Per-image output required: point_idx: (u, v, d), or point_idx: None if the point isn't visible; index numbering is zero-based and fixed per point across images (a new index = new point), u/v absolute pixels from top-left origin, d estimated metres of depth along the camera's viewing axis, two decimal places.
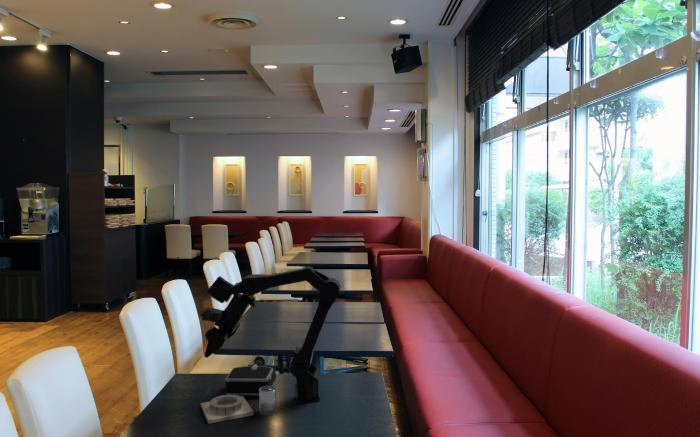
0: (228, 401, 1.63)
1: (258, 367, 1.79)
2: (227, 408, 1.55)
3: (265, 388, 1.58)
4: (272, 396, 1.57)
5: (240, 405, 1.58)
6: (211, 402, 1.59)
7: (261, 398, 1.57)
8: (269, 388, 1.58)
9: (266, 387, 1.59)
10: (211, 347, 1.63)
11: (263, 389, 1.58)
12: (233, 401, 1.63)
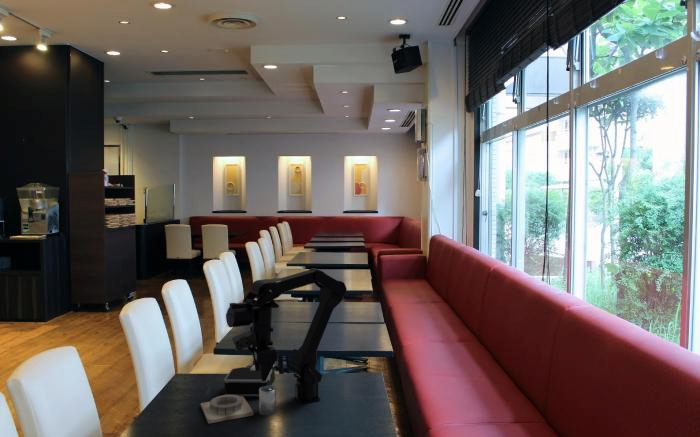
0: (228, 401, 1.63)
1: None
2: (227, 408, 1.55)
3: (265, 388, 1.58)
4: (272, 396, 1.57)
5: (240, 405, 1.58)
6: (211, 402, 1.59)
7: (261, 398, 1.57)
8: (269, 388, 1.58)
9: (266, 387, 1.59)
10: (265, 368, 1.53)
11: (263, 389, 1.58)
12: (233, 401, 1.63)
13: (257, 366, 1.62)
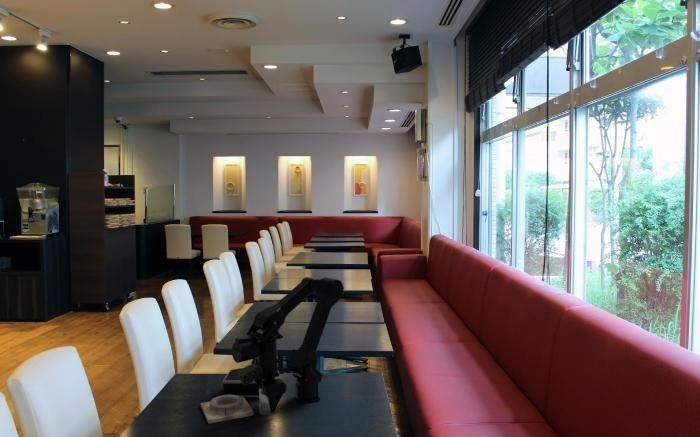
0: (228, 401, 1.63)
1: None
2: (227, 408, 1.55)
3: None
4: None
5: (240, 405, 1.58)
6: (211, 402, 1.59)
7: (261, 398, 1.57)
8: None
9: None
10: (274, 400, 1.54)
11: None
12: (233, 401, 1.63)
13: None
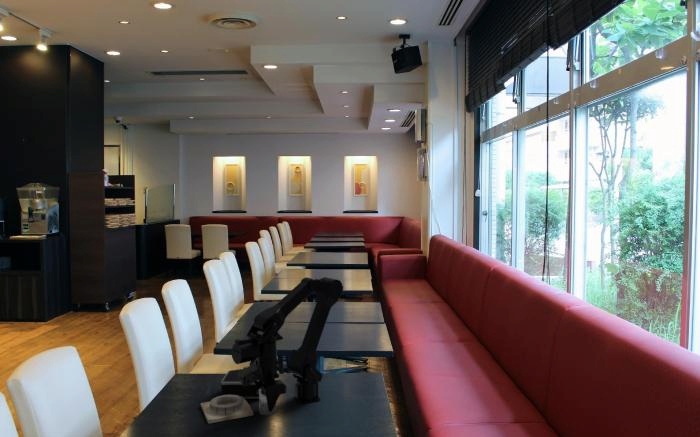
0: (228, 401, 1.63)
1: None
2: (227, 408, 1.55)
3: None
4: None
5: (240, 405, 1.58)
6: (211, 402, 1.59)
7: (261, 398, 1.57)
8: None
9: None
10: (272, 399, 1.55)
11: None
12: (233, 401, 1.63)
13: None
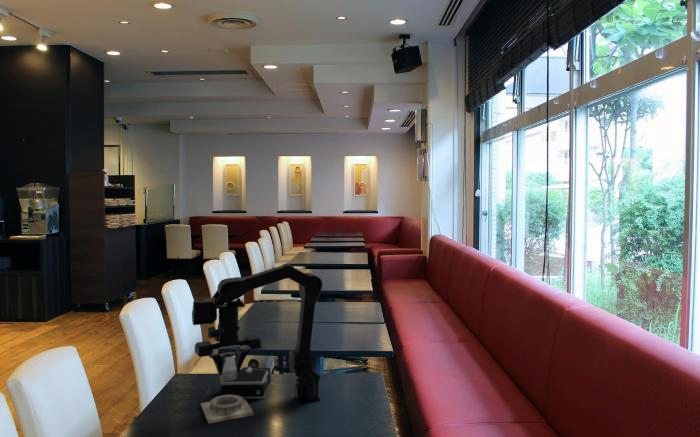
0: (228, 401, 1.63)
1: (253, 370, 1.76)
2: (227, 408, 1.55)
3: (228, 353, 1.59)
4: (221, 362, 1.57)
5: (240, 405, 1.58)
6: (211, 402, 1.59)
7: None
8: (228, 354, 1.58)
9: (231, 353, 1.59)
10: (215, 362, 1.56)
11: (226, 353, 1.59)
12: (233, 401, 1.63)
13: None
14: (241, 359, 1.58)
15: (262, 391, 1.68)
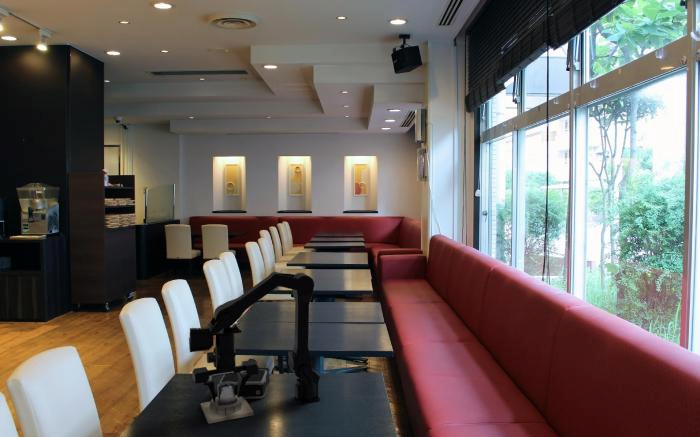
0: None
1: None
2: (227, 408, 1.55)
3: (226, 383, 1.60)
4: (219, 392, 1.58)
5: (240, 405, 1.58)
6: (211, 402, 1.59)
7: None
8: (225, 384, 1.59)
9: (229, 383, 1.60)
10: None
11: (224, 382, 1.60)
12: None
13: (237, 392, 1.61)
14: (241, 384, 1.59)
15: (262, 391, 1.68)
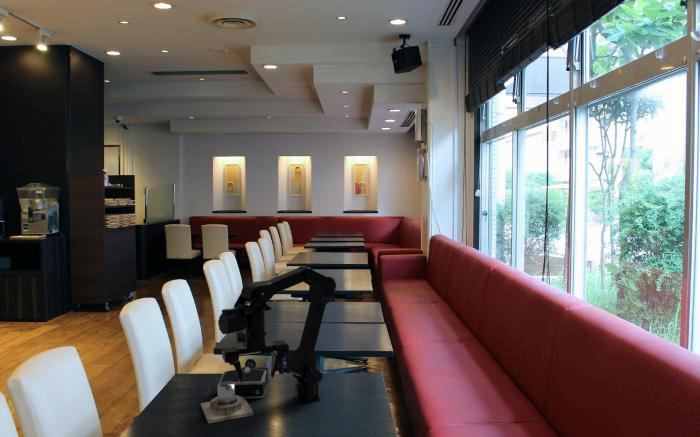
0: None
1: (251, 370, 1.76)
2: (227, 408, 1.55)
3: (226, 383, 1.60)
4: (218, 392, 1.58)
5: (240, 405, 1.58)
6: (211, 402, 1.59)
7: None
8: (225, 384, 1.59)
9: (228, 383, 1.60)
10: None
11: (224, 382, 1.60)
12: None
13: (271, 372, 1.57)
14: (275, 364, 1.55)
15: (261, 391, 1.68)
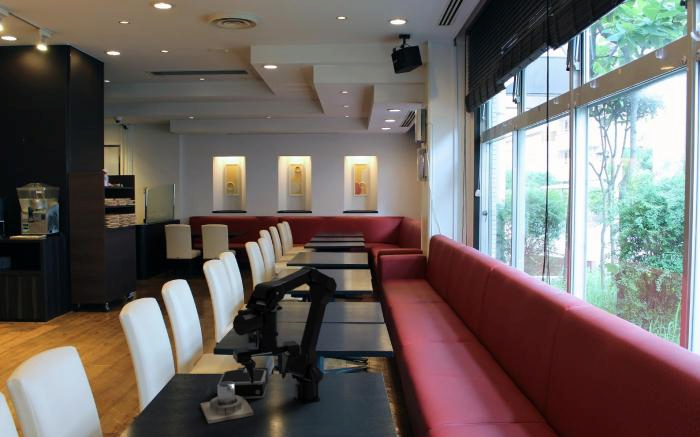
0: None
1: None
2: (227, 408, 1.55)
3: (226, 383, 1.60)
4: (218, 392, 1.58)
5: (240, 405, 1.58)
6: (211, 402, 1.59)
7: None
8: (225, 384, 1.59)
9: (228, 383, 1.60)
10: (248, 370, 1.51)
11: (224, 382, 1.60)
12: None
13: (282, 373, 1.56)
14: (287, 365, 1.54)
15: (261, 391, 1.68)
